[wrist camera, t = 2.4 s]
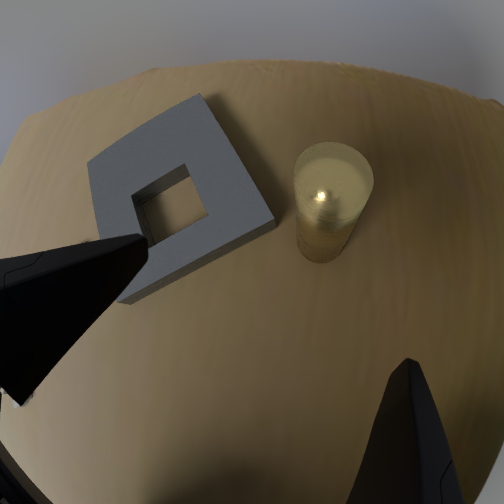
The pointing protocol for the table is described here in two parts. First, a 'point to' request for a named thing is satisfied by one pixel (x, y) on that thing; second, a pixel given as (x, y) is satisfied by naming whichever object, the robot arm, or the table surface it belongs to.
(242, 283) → the table surface
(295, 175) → the pin
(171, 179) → the slot plate
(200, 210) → the table surface
